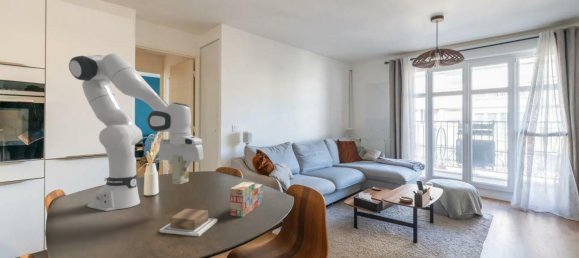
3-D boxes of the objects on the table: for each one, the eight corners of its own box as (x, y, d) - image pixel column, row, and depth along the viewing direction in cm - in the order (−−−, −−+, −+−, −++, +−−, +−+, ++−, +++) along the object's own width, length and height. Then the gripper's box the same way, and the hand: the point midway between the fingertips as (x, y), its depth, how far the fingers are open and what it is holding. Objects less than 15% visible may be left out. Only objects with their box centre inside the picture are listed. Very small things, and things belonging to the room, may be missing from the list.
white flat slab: (159, 232, 96) (159, 229, 96) (182, 218, 109) (182, 215, 109) (199, 236, 92) (199, 233, 92) (217, 221, 106) (217, 218, 106)
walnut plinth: (170, 228, 97) (170, 217, 97) (186, 218, 107) (186, 208, 107) (194, 230, 95) (194, 219, 95) (208, 220, 105) (208, 210, 105)
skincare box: (180, 184, 111) (180, 156, 111) (171, 184, 112) (171, 155, 111) (189, 181, 117) (189, 154, 117) (180, 180, 118) (180, 154, 118)
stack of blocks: (251, 201, 133) (252, 177, 133) (263, 202, 131) (263, 178, 131) (229, 215, 113) (230, 187, 113) (242, 217, 111) (242, 189, 111)
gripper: (154, 139, 113) (155, 170, 113) (197, 140, 109) (197, 173, 109) (164, 138, 119) (164, 168, 119) (205, 139, 115) (205, 170, 115)
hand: (180, 170), depth 114 cm, fingers closed on skincare box, 4 cm apart
